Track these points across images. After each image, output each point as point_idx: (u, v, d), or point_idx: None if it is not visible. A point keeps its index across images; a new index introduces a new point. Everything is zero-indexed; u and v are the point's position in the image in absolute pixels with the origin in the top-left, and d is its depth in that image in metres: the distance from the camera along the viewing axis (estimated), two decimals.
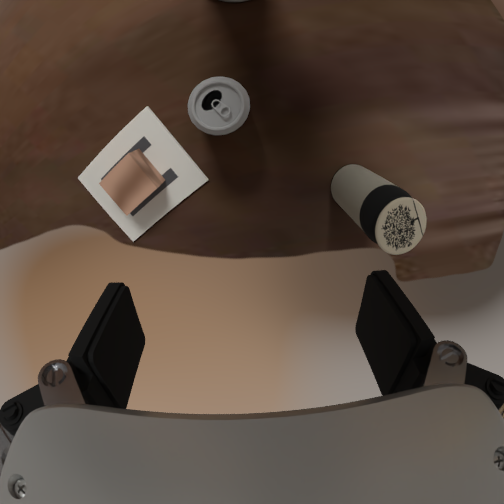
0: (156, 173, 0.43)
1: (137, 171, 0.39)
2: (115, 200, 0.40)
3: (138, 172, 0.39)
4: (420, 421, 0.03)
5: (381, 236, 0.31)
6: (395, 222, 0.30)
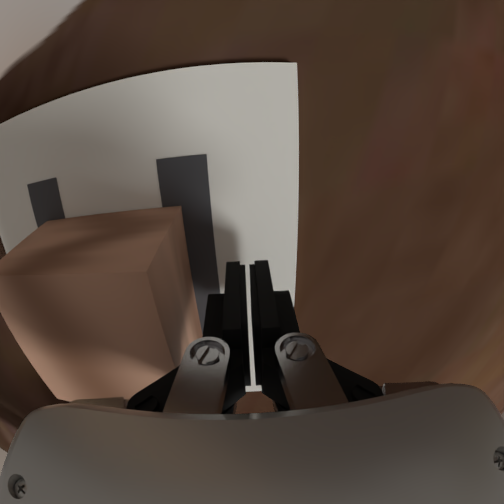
0: None
1: None
2: (37, 283, 0.07)
3: None
4: (420, 421, 0.03)
5: None
6: None
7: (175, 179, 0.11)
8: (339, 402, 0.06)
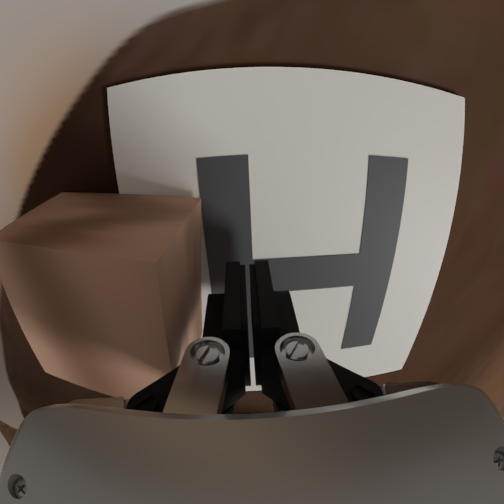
0: None
1: (106, 386, 0.10)
2: (41, 256, 0.07)
3: (104, 386, 0.10)
4: (420, 421, 0.03)
5: None
6: None
7: (382, 176, 0.11)
8: (339, 402, 0.06)
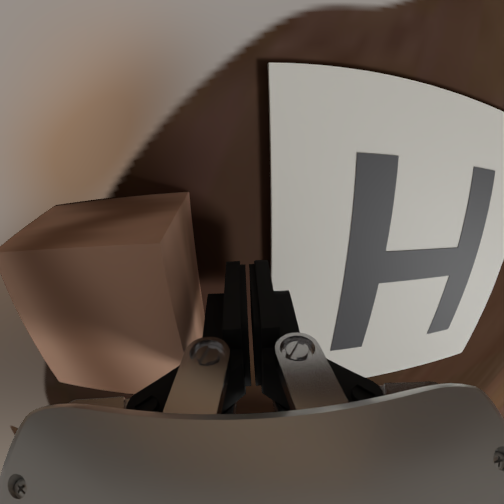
0: None
1: (121, 382, 0.10)
2: (49, 258, 0.07)
3: (119, 384, 0.10)
4: (420, 421, 0.03)
5: None
6: None
7: (479, 184, 0.11)
8: (339, 402, 0.06)
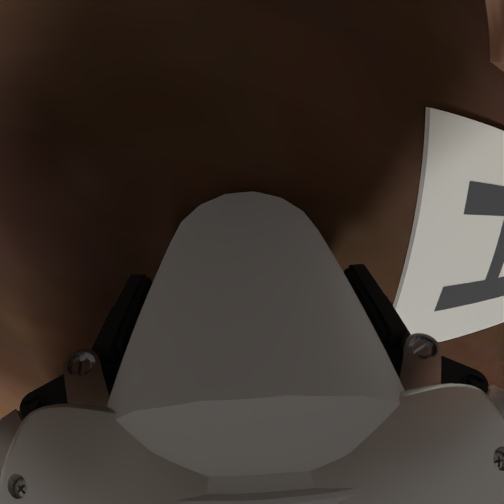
0: None
1: None
2: None
3: None
4: (420, 421, 0.03)
5: None
6: None
7: None
8: None
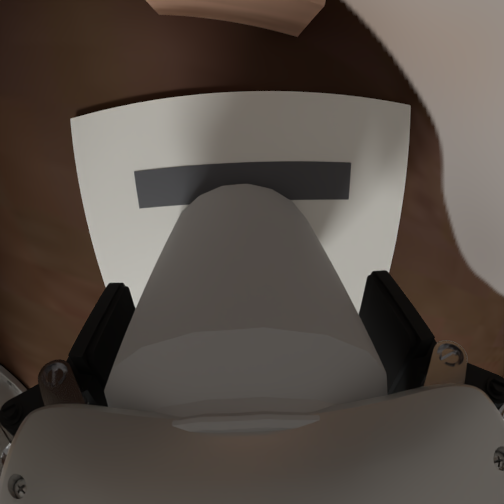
0: None
1: None
2: None
3: None
4: (420, 421, 0.03)
5: None
6: None
7: None
8: None
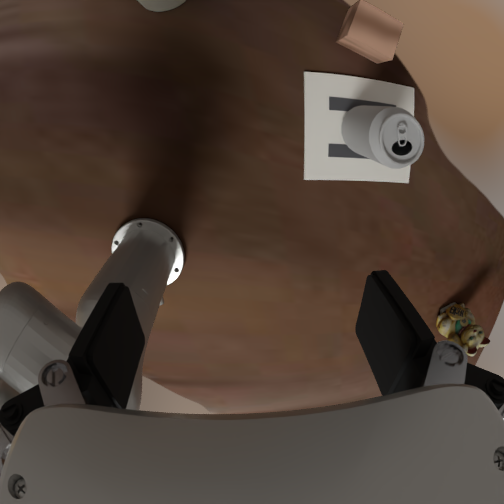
0: (348, 14, 0.28)
1: (358, 20, 0.26)
2: (397, 37, 0.26)
3: (358, 19, 0.26)
4: (420, 421, 0.03)
5: None
6: None
7: None
8: None
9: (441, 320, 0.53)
